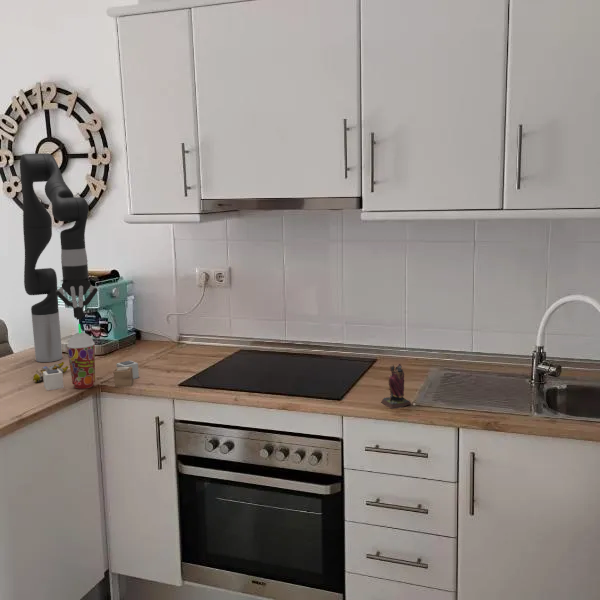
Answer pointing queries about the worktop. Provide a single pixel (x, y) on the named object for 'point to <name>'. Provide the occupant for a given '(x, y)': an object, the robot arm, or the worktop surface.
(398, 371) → the figurine
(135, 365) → the block grey numbered
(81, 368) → the smoothie
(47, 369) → the toy
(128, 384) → the block walnut numbered
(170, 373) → the worktop surface
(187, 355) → the worktop surface
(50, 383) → the white hollow cube
